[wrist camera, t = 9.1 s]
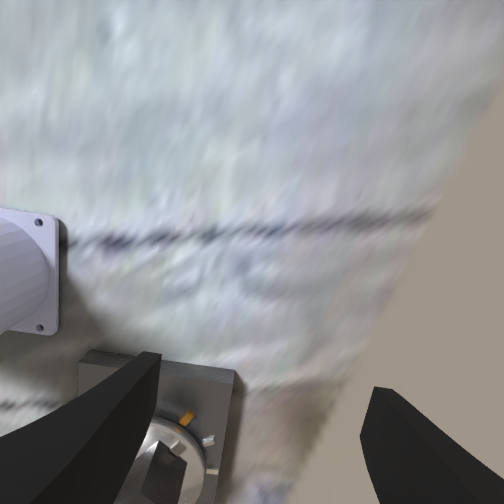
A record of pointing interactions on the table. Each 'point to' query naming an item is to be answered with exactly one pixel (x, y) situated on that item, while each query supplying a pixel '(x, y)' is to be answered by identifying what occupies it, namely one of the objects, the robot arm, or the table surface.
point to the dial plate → (179, 403)
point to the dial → (165, 468)
